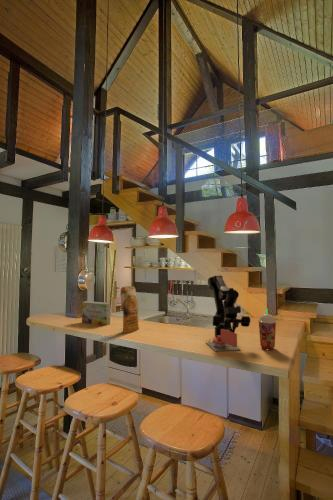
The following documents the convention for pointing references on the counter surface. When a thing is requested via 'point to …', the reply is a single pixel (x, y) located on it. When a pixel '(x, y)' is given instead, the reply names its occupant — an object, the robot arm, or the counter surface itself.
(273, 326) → the smoothie
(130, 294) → the pancake mix bag
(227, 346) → the grey base plate
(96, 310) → the snack box
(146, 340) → the counter surface
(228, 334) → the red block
